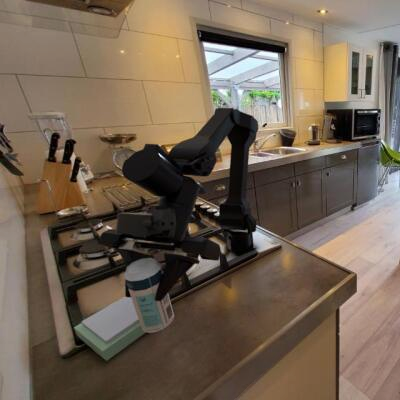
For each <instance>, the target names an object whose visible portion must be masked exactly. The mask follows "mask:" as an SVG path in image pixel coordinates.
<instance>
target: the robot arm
mask: <svg viewBox="0 0 400 400" xmlns="http://www.w3.org/2000/svg"><path fill="white" fill-rule="evenodd" d="M258 131H259V121H258V120H257V119H256V118H255V117H254V115H252V114H249V113H246V112H243V111H240V110H239V108H238V109H237V108H235V107H231V106H230V107H229V106H228V107H227V106H219V107H217V108H215V110H214V114H213V115H212V116H211V117H210V118H209V119H208V120H207V122H206V123H205V124H204V125H203V126H202V127H201V129H200V130H199V131H198V132H197V133H196V134H195V135H194V136H192V137H191V138H187V139H183V140H181V141H180V142H178V143H177V144H175V145H174V146H173V147H171V148H170V150H169V151H168V153H166V151H165V150H164V149H163V147H161V145H160V144H158V143H145V144H144V146H143V148H142V149H140V150H137V151H136V152H134V153H132V154H131V155H130V156H129V157H128V158H126V159H125V160H124V162H123V163H122V166H121V174H122V176H123V177H124V178H125V179H126V180H127V181H129V182H130V183H132V184H134V185H136V186H138V187H139V188H140V189H143V190H144V191H146V192H148V193H149V194H151V195H153V196H154V197H158V198H159V199H158V201H157V204H156V205H150V206H149V207H148V208H147V210H146V212H117V217H116V227H115V228H114V229H113V228H109V229H107V230H105V231H102V232H101V234H100V237H99V239H98V241H97V245H99V246H102V247H108V248H110V249H113V250H114V252H115V253H118V254H119V255H120V258H121V259H122V260H123V265H124V273H125V272H126V269H127V266H129V265H130V264H131V263H133V262H135V261H137V260H140V259H143V258H153V259H155V256H154V255H151V254H148V252H149V251H148V250H153V251H163V252H164V251H165V252H164V253H163V257H164V268H163V270H162V272H163V274H162V277H161V280H160V283H159V286H158V289H157V292H156V297H155V301H162V299H163V298H164V297H165V296H166V295H167V293H168V294H169V293H170V291H171V290H172V289H173V288H174V286H175V285H176V284H177V283H178V282H179V280H180V279H182V277H183V276H184V275H185V274H186V273H187V272H188V271H189V270H190V269H191V268H192V267H194V265H199V264H200V262H201V260H199V257H200V258H201V259H202V260H207V261H216V262H217V261H219V260H220V256H221V253H222V249H221V248H222V247H221V246H220V244H219V243H217V242H215V241H214V240H211V239H209V238H208V237H199V236H190V235H187V236H186V233H187V230H188V228H189V224H194V223H195V220H196V218H195V217H193V216H192V215H193V213H194V208H195V206H196V202H197V200H198V196H199V195H205V194H206V190H205V188H204V186H203V185H202V181H201V180H196V179H194V178H193V177H204V178H205V177H209V176H210V175H211V174H212V172H213V171H214V168H215V166H216V164H217V161H218V159H217V155H216V153H217V151H218V149H219V147H220V146H221V145H222V143H223V142H224V141H225V139H226V138H227V140H228V142H229V143H230V146H231V147H230V158H229V159H230V160H229V171H228V172H229V176H228V187H227V188H228V189H227V198H226V199H225V201H224V202H223V203H220V204H219V207H218V208H219V209H218V210H219V211H218V212H219V213H218V217H217V221H218V224H219V228H220V229H221V231H222V233H227V236H226V243H227V248H228V251H230V252H231V253H233V254H234V256H236V257H238V256H240V255H244V254H246V253H248V252H252V251H253V250H256V249H257V245H255V244H254V234H253V233H255V232H257V225H258V223H257V219H256V218H255V217H254V216H253V215H252V207H251V206H250V204H249V202H248V200H247V186H248V175H249V174H248V173H249V158H250V148H251V147H252V146H253V144H254V143H255V141H256V140H257V139H256V138H257V135H258ZM185 236H186V237H185ZM167 252H172V253H167ZM124 284H125V285H124V287H125V289H124V291H125V293H124V297H125V296H126V297H131V295H130V292H129V289H128V286H127V283H126V281H125V280H124Z"/></svg>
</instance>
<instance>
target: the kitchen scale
mask: <svg viewBox="0 0 400 400" xmlns="http://www.w3.org/2000/svg"><path fill="white" fill-rule="evenodd" d="M73 329H74V331H75V333H76V336H77V337H78V338H79V339H80V340H81V341H82V342H84V344H86V346H87V347H89V348H90V349H92V350H93V351H94V352H95V353H96V354H98V355H99V356H100V357H101V358H102V359H104V360H105V362H108V361H109V360H111V358H113V357H115V356H116V355H117V354H119V353H120V352H121V351H122V350H124V349H125V348H127V347H128V346H129V345H131V344H132V343H134V342H135V341H136V340H137V339H139V338H140V337H142V336H143V335H145V334H146V333H147V332H144V331H143V330H142V327H141V325H140V322H139V319H138V316H137V313H136V310H135V307H134V304H133V301H132V298H131V297H126V296H125V295H124V296H123V297H121V298H119V299H118V300H115V302H113V303H110V304H109V305H107V306H106V307H104V308H102V309H100V310H99V311H97V312H95V313H94V314H92V315H89V316H88V317H87V318H85V319H83V320H82V321H81V322H80V323H79V324H77V325H76V326H74V327H73Z"/></svg>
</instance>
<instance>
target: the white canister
mask: <svg viewBox="0 0 400 400" xmlns="http://www.w3.org/2000/svg"><path fill="white" fill-rule="evenodd" d="M162 274H163V269H162V264H161V262H159V261H158V260H157V259H156V258H154V259H153V258H143V259H140V260H137V261H135V262H133V263H131V264H130V265H129V266H127V269H126V272H125V271H124V275H123V277H124V282H125V281H126V283H127V286H128V289H129V292H130V295H131V298H132V301H133V304H134V307H135V310H136V313H137V316H138V319H139V322H140V325H141V327H142V330H143V331H144V332H146V333H149V334H152V333H157V332H160V331H162V330H164V329H166V328H167V327H169V326H170V324H171V323H172V322H173V321H174V318H175V313H174V310H173V306H172V301H171V298H170V294H169V292H168V293H167V295H166V296H165V297H164V298H163V299H162V301H155V297H156V292H157V289H158V286H159V283H160V280H161V277H162Z"/></svg>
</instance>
